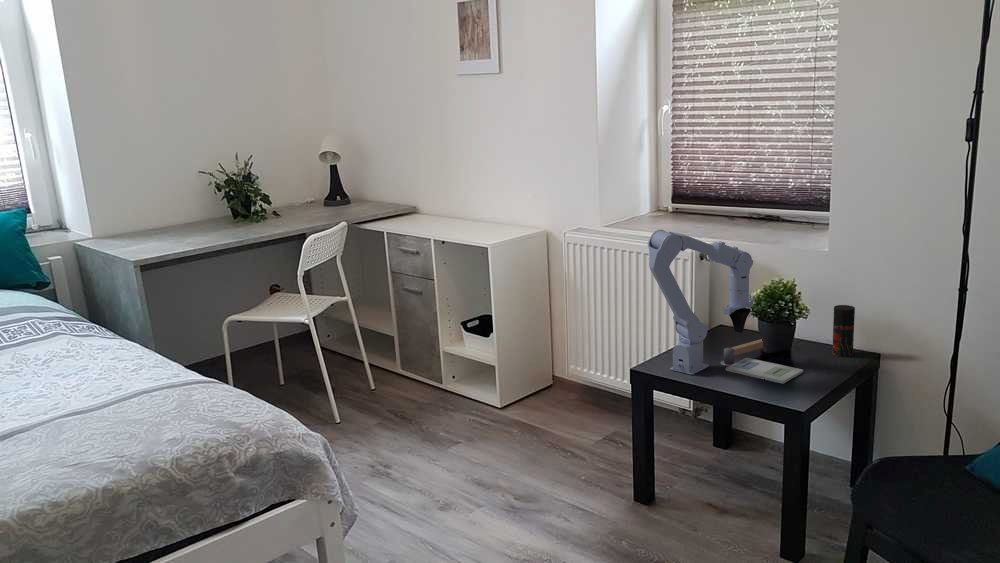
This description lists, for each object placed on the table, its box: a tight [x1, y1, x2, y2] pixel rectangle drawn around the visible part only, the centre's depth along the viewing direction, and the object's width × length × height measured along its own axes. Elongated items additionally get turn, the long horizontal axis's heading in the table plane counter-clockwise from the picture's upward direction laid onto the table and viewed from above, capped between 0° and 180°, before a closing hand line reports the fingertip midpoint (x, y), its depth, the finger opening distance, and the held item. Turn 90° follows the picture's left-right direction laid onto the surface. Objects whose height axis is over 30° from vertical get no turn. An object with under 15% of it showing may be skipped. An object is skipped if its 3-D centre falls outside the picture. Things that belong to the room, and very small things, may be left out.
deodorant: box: [831, 304, 856, 358], centre depth 253 cm, size 6×6×15 cm
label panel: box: [720, 357, 804, 384], centre depth 245 cm, size 12×24×1 cm, turn 44°
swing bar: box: [723, 338, 764, 364], centre depth 256 cm, size 22×3×4 cm, turn 120°
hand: (738, 331), depth 252 cm, fingers closed
